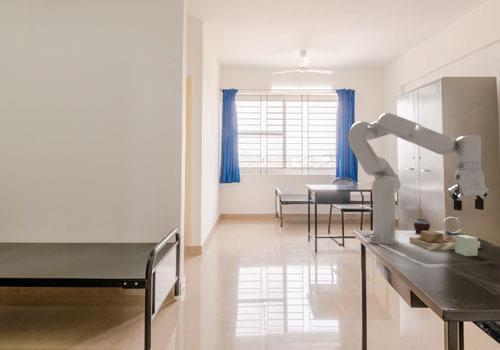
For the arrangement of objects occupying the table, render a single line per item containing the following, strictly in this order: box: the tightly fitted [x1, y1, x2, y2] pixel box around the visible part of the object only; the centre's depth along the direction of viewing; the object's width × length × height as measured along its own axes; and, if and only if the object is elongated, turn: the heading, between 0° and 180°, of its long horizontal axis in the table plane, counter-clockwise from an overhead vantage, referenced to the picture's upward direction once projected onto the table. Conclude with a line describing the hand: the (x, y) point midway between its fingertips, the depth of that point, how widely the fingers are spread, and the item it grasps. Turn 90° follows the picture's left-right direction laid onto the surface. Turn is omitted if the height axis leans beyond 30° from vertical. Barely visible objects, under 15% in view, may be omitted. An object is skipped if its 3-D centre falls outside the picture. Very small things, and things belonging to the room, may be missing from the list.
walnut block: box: [420, 230, 445, 244], centre depth 123 cm, size 6×6×6 cm
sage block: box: [454, 234, 479, 257], centre depth 112 cm, size 5×5×8 cm
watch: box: [442, 216, 464, 236], centre depth 138 cm, size 6×8×11 cm
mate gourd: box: [413, 204, 431, 235], centre depth 146 cm, size 8×8×15 cm
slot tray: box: [409, 235, 481, 251], centre depth 124 cm, size 24×12×4 cm, turn 98°
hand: (468, 209), depth 111 cm, fingers open, 9 cm apart
